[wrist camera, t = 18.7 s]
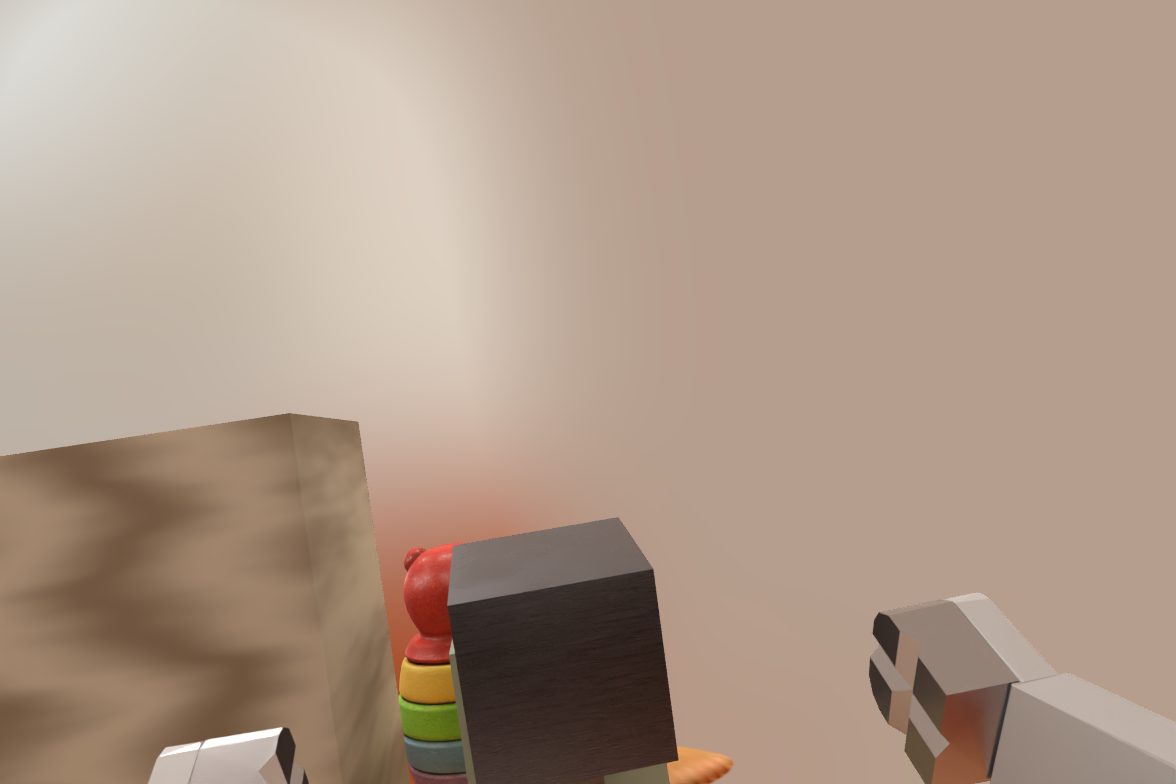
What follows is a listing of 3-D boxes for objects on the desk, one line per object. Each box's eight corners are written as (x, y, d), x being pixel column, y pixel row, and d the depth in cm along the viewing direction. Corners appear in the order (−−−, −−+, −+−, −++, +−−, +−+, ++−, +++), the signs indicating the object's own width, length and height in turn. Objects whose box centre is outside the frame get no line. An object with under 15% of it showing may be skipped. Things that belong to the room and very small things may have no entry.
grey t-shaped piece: (519, 1050, 21) (447, 606, 20) (503, 778, 33) (458, 491, 32) (710, 1003, 22) (653, 568, 20) (626, 753, 34) (586, 470, 32)
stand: (61, 1358, 24) (-52, 464, 25) (213, 1035, 37) (135, 455, 38) (410, 1263, 25) (289, 413, 26) (439, 982, 38) (357, 421, 39)
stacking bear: (591, 775, 58) (551, 522, 59) (520, 852, 49) (475, 551, 49) (461, 770, 62) (427, 535, 63) (375, 840, 53) (335, 564, 54)
